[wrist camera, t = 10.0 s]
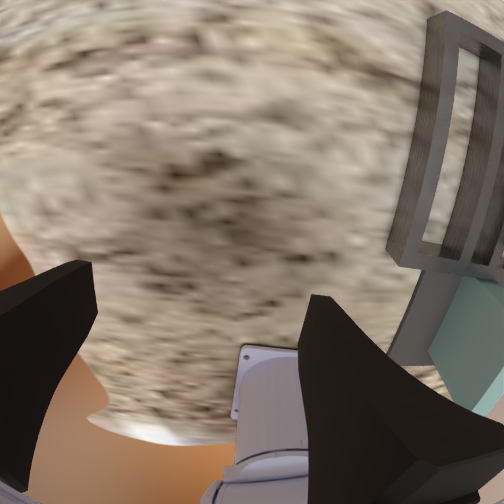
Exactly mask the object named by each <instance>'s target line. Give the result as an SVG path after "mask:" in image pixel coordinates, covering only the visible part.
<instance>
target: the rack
mask: <svg viewBox="0 0 504 504" xmlns="http://www.w3.org/2000/svg"><path fill="white" fill-rule="evenodd" d="M459 46H460V47H462V48H464V49H466V50H468V51H469V52H471V53H473V54H475V55H477V56H479V57H480V67H479V79H478V89H477V97H476V105H475V112H474V119H473V125H472V131H471V137H470V142H469V147H468V152H467V157H466V162H465V166H464V171H463V175H462V179H461V183H460V187H459V191H458V195H457V199H456V202H455V206H454V210H453V213H452V216H451V220H450V223H449V226H448V230H447V233H446V236H445V239H444V242H443V245H438V244H433V243H427V242H422V237H423V234H424V231H425V228H426V224H427V221H428V218H429V214H430V211H431V207H432V203H433V200H434V196H435V192H436V188H437V184H438V180H439V176H440V171H441V167H442V163H443V158H444V153H445V148H446V143H447V138H448V133H449V127H450V121H451V115H452V108H453V101H454V94H455V86H456V77H457V66H458V54H459ZM386 251H387V252H388V253H389V255H390V256H391V257H392V258H393V260H394V261H395V262H396V264H397V265H398V266H400V267H407V268H414V269H420V270H427V271H434V272H441V273H448V274H455V275H461V276H468V277H475V278H482V279H488V280H495V281H502V282H504V258H501V256H502V254H503V251H504V42H502V41H500V40H499V39H497V38H496V37H494V36H492V35H491V34H489V33H488V32H486V31H484V30H482V29H481V28H479V27H477V26H475V25H474V24H472V23H470V22H468V21H466V20H464V19H463V18H461V17H459V16H457V15H455V14H453V13H451V12H449V11H447V10H446V11H444V12H442V13H439V14H437V15H435V16H433V17H431V18H428V20H427V36H426V49H425V59H424V69H423V77H422V85H421V92H420V99H419V106H418V112H417V118H416V124H415V130H414V135H413V140H412V145H411V150H410V155H409V160H408V165H407V169H406V174H405V178H404V182H403V187H402V191H401V195H400V199H399V203H398V207H397V210H396V214H395V218H394V221H393V225H392V229H391V232H390V236H389V239H388V242H387V246H386Z"/></svg>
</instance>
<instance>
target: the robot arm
mask: <svg viewBox="0 0 504 504" xmlns="http://www.w3.org/2000/svg"><path fill="white" fill-rule="evenodd" d="M97 314H98V309H97V303H96V296H95V289H94V281H93V272H92V263H91V262H87V261H81V260H74V261H70V262H67V263H65V264H62V265H60V266H57V267H55V268H52V269H50V270H48V271H46V272H43V273H41V274H39V275H37V276H34V277H32V278H30V279H28V280H26V281H23V282H21V283H18V284H16V285H14V286H11V287H9V288H7V289H4V290H2V291H0V504H41V503H39V502H37V501H35V500H33V499H31V498H29V497H27V496H25V495H24V494H22V493H23V492H25V491H27V490H28V483H29V476H30V470H31V464H32V459H33V454H34V450H35V447H36V443H37V439H38V435H39V432H40V429H41V426H42V423H43V420H44V417H45V414H46V411H47V409H48V406H49V404H50V401H51V399H52V396H53V394H54V392H55V390H56V388H57V386H58V384H59V382H60V380H61V378H62V377H63V375H64V373H65V372H66V370H67V369H68V367H69V365H70V364H71V362H72V360H73V359H74V357H75V356H76V354H77V352H78V351H79V349H80V347H81V346H82V344H83V343H84V341H85V339H86V338H87V336H88V334H89V332H90V330H91V327H92V325H93V323H94V321H95V318H96V316H97ZM244 355H248V356H247V357H246V356H244ZM231 418H233V419H237V420H238V423H237V434H236V447H235V458H234V466H226V467H224V477H223V480H217V481H214V482H213V483H212V484H211V485H210V486H209V487H208V489H207V490H206V491H205V493H204V494H203V496H202V498H201V501H200V504H477V503H478V502H480V496H479V493H478V490H479V489H480V488H481V487H483V486H484V485H485V484H486V483H488V481H490V480H491V479H492V478H494V476H496V475H497V474H498V473H499V472H500V471H502V470H503V469H504V425H503V424H501V423H499V422H496V421H494V420H491V419H489V418H486V417H484V416H481V415H479V414H477V413H474V412H472V411H470V410H468V409H466V408H464V407H462V406H460V405H458V404H456V403H454V402H452V401H450V400H449V399H447V398H445V397H444V396H442V395H440V394H438V393H437V392H435V391H434V390H432V389H431V388H429V387H428V386H426V385H425V384H423V383H422V382H420V381H419V380H417V379H416V378H415V377H413V376H412V375H411V374H409V373H408V372H407V371H406V370H404V369H403V368H402V367H401V366H399V365H398V364H397V363H396V362H394V361H393V360H392V359H391V358H390V357H389V356H388V355H387V354H385V353H384V352H383V351H382V350H381V349H380V348H379V347H378V346H377V345H376V344H375V343H374V342H373V341H372V340H371V339H370V338H369V337H368V336H367V335H366V334H365V333H364V332H363V331H362V330H361V329H360V328H359V327H358V326H357V325H356V323H355V322H354V321H353V320H352V319H351V318H350V317H349V316H348V315H347V314H346V312H345V311H344V310H343V309H342V308H341V307H340V306H339V305H338V304H337V303H336V302H335V301H334V300H333V299H332V298H331V297H330V296H323V295H314V294H311V298H310V302H309V306H308V309H307V313H306V317H305V320H304V324H303V327H302V331H301V334H300V338H299V341H298V350H289V349H279V348H269V347H261V346H252V345H245V346H243V347H242V348H241V352H240V358H239V365H238V371H237V378H236V384H235V390H234V397H233V403H232V409H231ZM495 504H504V499H503V500H501V501H499V502H497V503H495Z"/></svg>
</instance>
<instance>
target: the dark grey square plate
mask: <svg viewBox="0 0 504 504" xmlns="http://www.w3.org/2000/svg"><path fill="white" fill-rule="evenodd" d="M462 277H463V276H461V275H455V274H448V273H441V272H434V271H427V270H422V272H421V275H420V278H419V280H418V283H417V286H416V288H415V291H414V293H413V296H412V298H411V301H410V303H409V306H408V308H407V310H406V313H405V315H404V317H403V320H402V322H401V324H400V326H399V329H398V331H397V333H396V335H395V338H394V340H393V342H392V344H391V346H390V348H389V350H388V352H387V355H388V356H389V357H390V358H391V359H392V360H393V361H394V362H396V363H397V364H398V365H399V366H428V365H435V364H434V362H433V361H432V359H431V357H430V355H429V353H428V349H429V347H430V345H431V344H432V342H433V340H434V338H435V336H436V334H437V332H438V330H439V328H440V326H441V324H442V322H443V320H444V318H445V315H446V313H447V311H448V309H449V307H450V305H451V302H452V300H453V298H454V296H455V293H456V291H457V289H458V286H459V284H460V281H461V279H462ZM497 282H498V283H499V284H500V285H501V286H502V287H503V288H504V282H502V281H497Z"/></svg>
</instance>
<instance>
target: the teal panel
mask: <svg viewBox="0 0 504 504" xmlns="http://www.w3.org/2000/svg"><path fill="white" fill-rule="evenodd" d="M428 353H429V355H430V357H431V359H432V361H433V362H434V364H435V366H436V368H437V370H438V372H439V374H440V376H441V378H442V379H443V381H444V383H445V385H446V387H447V389H448V391H449V393H450V395H451V397H452V399H453V401H454V403H456V404H458V405H460V406H462V407H464V408H466V409H468V410H470V411H472V412H474V413H477V414H479V415H481V416H484V417H486V416H487V414H488V413H489V412H490V411H491V410H492V408H493V407H494V406H495V404H496V403H497V402H498V401H499V399H500V398H501V397H502V395H503V394H504V288H503V287H502V286H501V285H500V284H499V283H498V282H497V281H495V280H488V279H482V278H475V277H468V276H463V277H462V279H461V281H460V284H459V286H458V289H457V291H456V293H455V296H454V298H453V300H452V302H451V305H450V307H449V309H448V311H447V313H446V315H445V318H444V320H443V322H442V324H441V326H440V328H439V330H438V332H437V334H436V336H435V338H434V340H433V342H432V344H431V345H430V347H429V349H428Z"/></svg>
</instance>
